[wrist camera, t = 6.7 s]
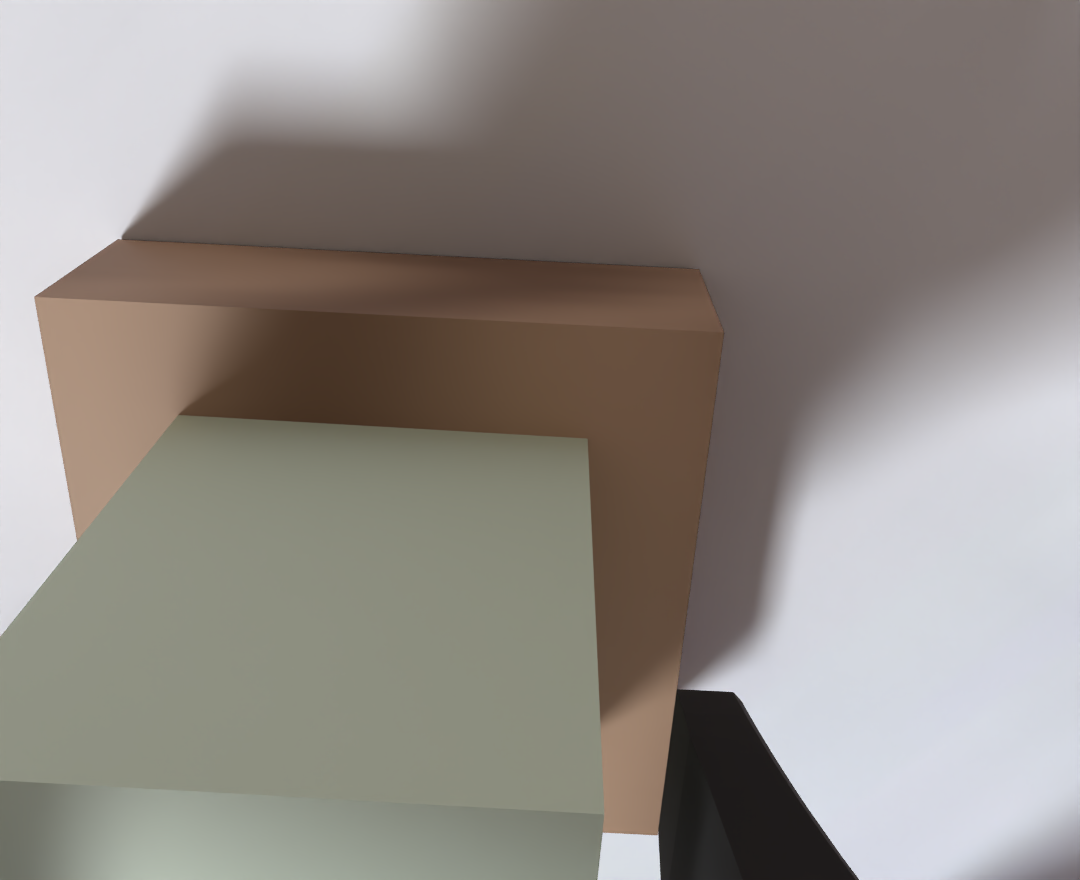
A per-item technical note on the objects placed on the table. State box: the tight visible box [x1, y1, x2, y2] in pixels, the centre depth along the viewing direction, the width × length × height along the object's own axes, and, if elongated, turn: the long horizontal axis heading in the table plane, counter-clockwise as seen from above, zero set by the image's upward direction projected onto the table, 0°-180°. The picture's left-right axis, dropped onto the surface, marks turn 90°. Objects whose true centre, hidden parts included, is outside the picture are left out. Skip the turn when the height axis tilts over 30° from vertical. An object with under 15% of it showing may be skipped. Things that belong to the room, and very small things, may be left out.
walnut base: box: [34, 239, 724, 835], centre depth 15 cm, size 8×8×2 cm
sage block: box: [0, 415, 604, 880], centre depth 11 cm, size 5×5×6 cm
